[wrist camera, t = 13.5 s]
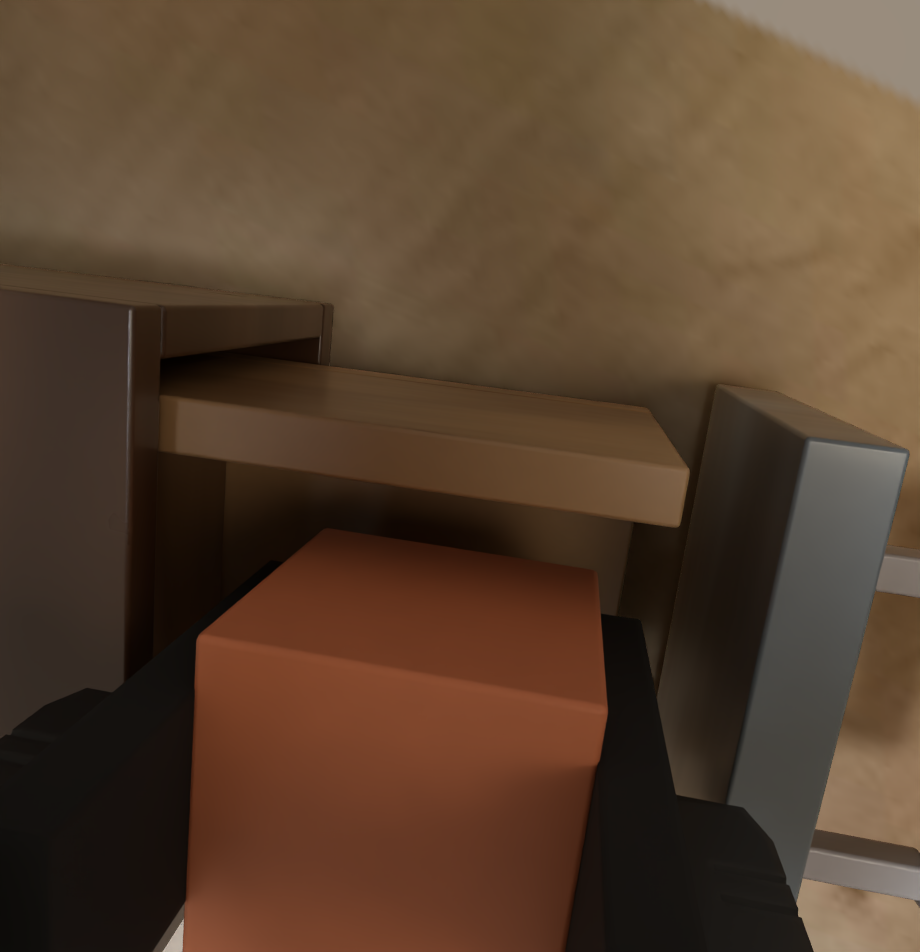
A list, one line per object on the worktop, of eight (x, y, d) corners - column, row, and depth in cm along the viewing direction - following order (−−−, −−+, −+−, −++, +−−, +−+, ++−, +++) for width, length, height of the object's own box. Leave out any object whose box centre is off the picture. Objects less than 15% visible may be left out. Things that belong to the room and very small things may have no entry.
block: (323, 525, 13) (193, 635, 8) (598, 568, 12) (609, 709, 8) (303, 768, 14) (178, 977, 9) (557, 817, 13) (547, 1063, 9)
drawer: (1005, 419, 15) (1303, 502, 9) (887, 842, 17) (1060, 1143, 11) (219, 320, 16) (13, 330, 10) (203, 714, 18) (25, 910, 13)
